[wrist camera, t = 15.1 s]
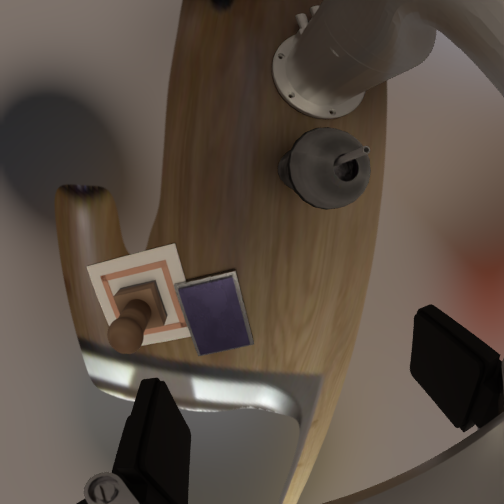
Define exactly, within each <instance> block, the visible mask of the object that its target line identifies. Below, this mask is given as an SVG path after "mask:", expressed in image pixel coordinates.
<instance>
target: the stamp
mask: <svg viewBox="0 0 504 504" xmlns="http://www.w3.org/2000/svg"><path fill="white" fill-rule="evenodd" d="M113 297H114V300H115V302H116V305H117V307H118V310H119V312H120V316H119V317H118V319H116V320H114V321H113V322H112V323H111V324H110V326H109V329H108V340H109V343H110V345H111V346H112V347H113V348H114V349H115V350H116V351H118V352H120V353H123V354H131V353H134V352H136V351H137V350H138V349H139V348H140V347H141V345H142V343H143V339H144V331H145V329H150V328H156V327H161V326H164V325H165V322H166V319H167V316H168V315H167V312H166V309H165V306H164V304H163V301H162V298H161V295H160V292H159V289H158V286H157V283H156V280H152V281H148V282H144V283H139V284H135V285H131V286H127V287H122V288H120V289H119V290H118V292H117V293H116V294H115V295H114V296H113Z"/></svg>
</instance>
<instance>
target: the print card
mask: <svg viewBox="0 0 504 504" xmlns="http://www.w3.org/2000/svg"><path fill="white" fill-rule="evenodd" d="M87 270H88V273H89V275H90V278H91V281H92V284H93V287H94V289H95V292H96V295H97V297H98V300H99V302H100V305H101V307H102V310H103V312H104V315H105V317H106V320H107V322H108V324H109V326H110V324H111V323H112V322H113V321H114V320H116V319H118V317H119V316H120V312H119V310H118V307H117V305H116V302H115V300H114V297H113V296H114V295H115V294H116V293H117V292H118V290H119V289H120V288H122V287H127V286H131V285H135V284H139V283H144V282H148V281H152V280H156V283H157V286H158V289H159V292H160V295H161V298H162V301H163V304H164V306H165V309H166V312H167V315H168V316H167V319H166V322H165V325H164V326H161V327H156V328H150V329H145V331H144V339H143V343H142V345H148V344H153V343H159V342H165V341H170V340H175V339H180V338H186V337H191V335H190V332H189V329H188V326H187V323H186V321H185V318H184V315H183V312H182V309H181V306H180V303H179V300H178V297H177V294H176V291H175V288H174V284H175V283H179V282H183V281H186V279H185V276H184V272H183V269H182V265H181V262H180V259H179V255H178V252H177V248H176V244H175V243H174V244H170V245H166V246H162V247H158V248H154V249H150V250H146V251H142V252H138V253H135V254H131V255H127V256H123V257H119V258H116V259H112V260H108V261H105V262H101V263H97V264H93V265H90V266H87ZM142 345H141V346H142Z"/></svg>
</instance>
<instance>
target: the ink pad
mask: <svg viewBox="0 0 504 504" xmlns="http://www.w3.org/2000/svg"><path fill="white" fill-rule="evenodd" d="M174 288H175V291H176V294H177V297H178V300H179V303H180V306H181V309H182V312H183V315H184V318H185V321H186V323H187V326H188V329H189V332H190V335H191V337H192V340H193V343H194V346H195V348H196V351H197V354H198V356H202V355H207V354H212V353H217V352H222V351H226V350H231V349H236V348H240V347H244V346H249V345H253V344H254V341H253V337H252V333H251V329H250V326H249V322H248V318H247V314H246V310H245V306H244V302H243V298H242V294H241V290H240V286H239V282H238V278H237V274H236V270H235V269H231V270H227V271H223V272H219V273H214V274H210V275H206V276H202V277H197V278H193V279H189V280H186V281H183V282H179V283H175V284H174Z"/></svg>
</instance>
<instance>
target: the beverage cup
mask: <svg viewBox="0 0 504 504" xmlns="http://www.w3.org/2000/svg"><path fill="white" fill-rule="evenodd" d="M369 152H370V148H369V147H368V146H364V147H363V146H362V144H361V143H360V142H359V141H358V140H357V139H356V138H355V137H353V136H352V135H350V134H349V133H347V132H345V131H342V130H338V129H335V128H329V127H327V128H315V129H313V130H310V131H308V132H305V133H304V134H303V135H302V136H301V137H300V138H299V139H297V140H296V142H295V143H294V145H293V147H292V149H291V150H290V151H288V152H287V153H286V154H285V155H284V156H283V157H282V158H281V160H280V162H279V165H278V174H279V177H280V179H281V180H282V181H283V182H284V183H285V184H286V185H287V186H288V187H290V188H292V189H293V190H294V191H295V192H296V193H297V194H298V195H299V197H300V198H301V199H302V200H303V201H305V202H306V203H308V204H310V205H311V206H313V207H316V208H321V209H326V210H327V209H335V208H339V207H344V206H346V205H348V204H350V203H352V202H354V201H355V200H356V199H357V198H358V197H359V196H360V195H361V194H362V193H363V192H364V190H365V188H366V186H367V185H368V183H369V177H370V172H371V170H370V160H369V157H368V155H367V154H369Z"/></svg>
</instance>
